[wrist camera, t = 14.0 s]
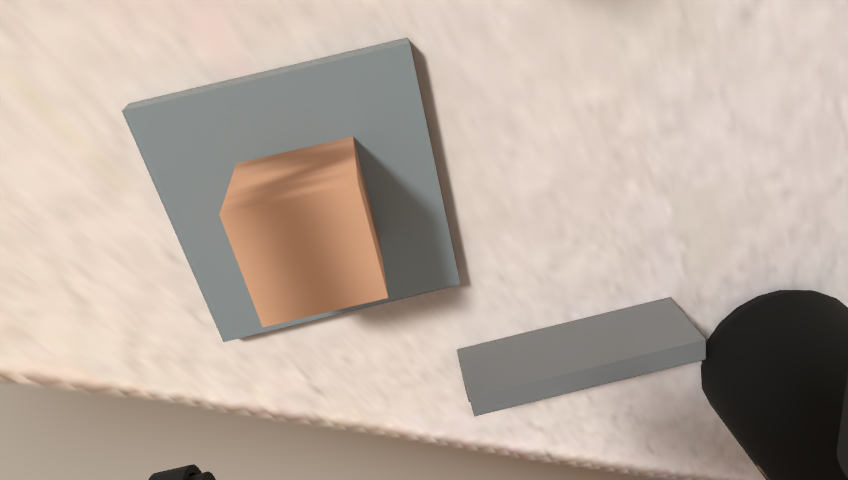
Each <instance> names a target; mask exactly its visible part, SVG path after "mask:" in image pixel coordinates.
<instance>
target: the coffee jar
mask: <svg viewBox="0 0 848 480" xmlns="http://www.w3.org/2000/svg"><path fill="white" fill-rule="evenodd" d="M847 373H848V307H846V306H845V305H844V304H843V303H841V302H840V301H839V300H838V299H836V298H833V297H831V296H828V295H825V294H822V293H819V292H816V291H811V290H779V291H775V292H772V293H768V294H764V295H761V296H757V297H756V298H754V299H752V300H750V301H748V302H746V303H745V304H743V305H741V306H739V307H737V308H736V309H735V310H734V311H733V312H732V313H730V314H729V315H728V316H727V317H726V318H725V319H724V320H722V321H721V322H720V323H719V325H718V326H717V328H716V329H715V331H714V332H713V333H712V335H711V336H710V338H709V339H708V341H707V344H706V359H704V360H702V364H701V379H702V389H703V391H704V393H705V395H706V397H707V399H708V401H709V403H710V404H711V406H712V407H713V409H714V410H715V411H716V413H717V414H718V415H719V417H720V418H721V419H722V421H723V422H724V423H725V425H726V426H727V427H728V429H729V430H730V431H731V433H732V434H733V436H734V437H735V438H736V440H737V441H738V442H739V444H740V445H741V446H742V448H743V449H744V450H745V452H746V453H747V454H748V456H749V457H750V458H751V460H752V461H753V463H754V464H755V465H756V467H757V468H758V469H759V471H760V472H761V473H762V475H763V476H764V477H765V479H766V480H848V478H847V477H846V475H845V474H844V472H843V471H842V469H841V467H840V464H839V461H838V458H837V445H838V438H839V430H840V423H841V416H842V409H843V402H844V395H845V388H846V381H847Z"/></svg>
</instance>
